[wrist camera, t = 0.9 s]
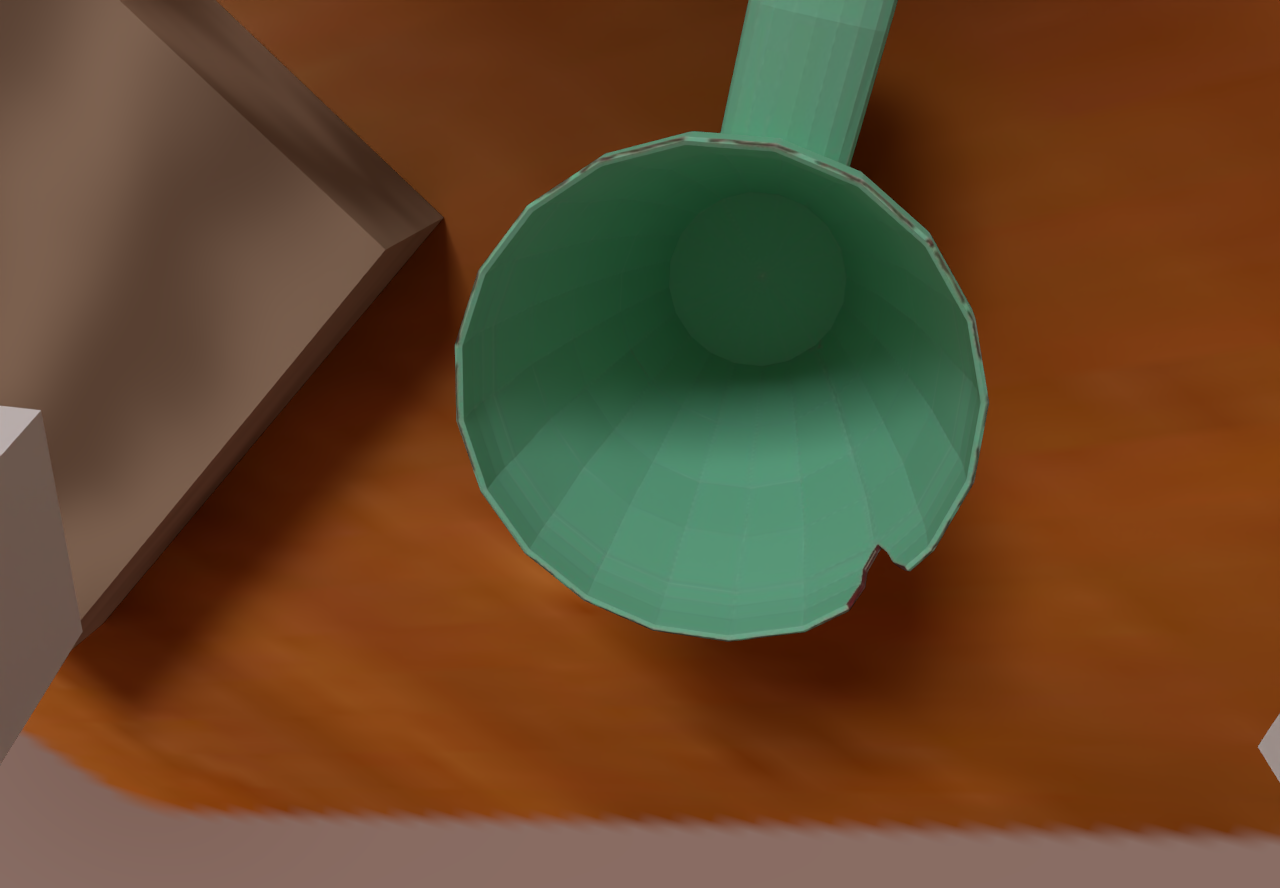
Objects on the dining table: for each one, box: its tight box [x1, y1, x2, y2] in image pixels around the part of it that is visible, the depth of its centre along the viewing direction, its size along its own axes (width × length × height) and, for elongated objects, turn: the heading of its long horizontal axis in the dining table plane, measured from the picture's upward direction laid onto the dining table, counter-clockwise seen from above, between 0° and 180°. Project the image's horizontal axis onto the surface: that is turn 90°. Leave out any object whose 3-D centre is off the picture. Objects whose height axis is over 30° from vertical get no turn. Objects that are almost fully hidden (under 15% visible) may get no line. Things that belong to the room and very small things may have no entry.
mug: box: [455, 0, 989, 642], centre depth 23 cm, size 15×10×10 cm
